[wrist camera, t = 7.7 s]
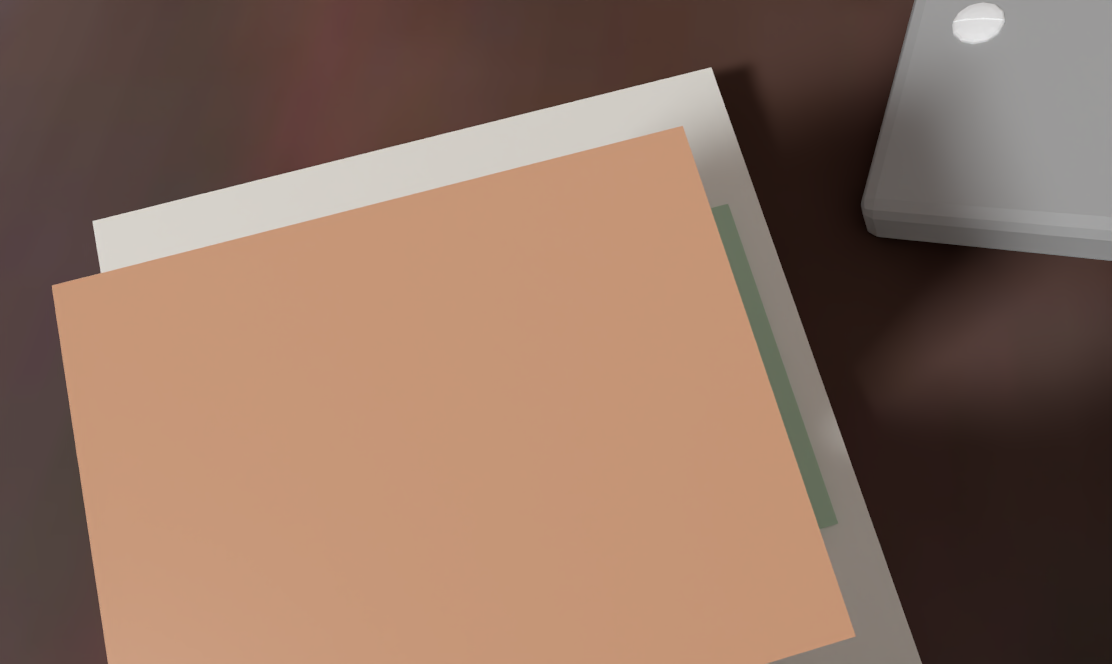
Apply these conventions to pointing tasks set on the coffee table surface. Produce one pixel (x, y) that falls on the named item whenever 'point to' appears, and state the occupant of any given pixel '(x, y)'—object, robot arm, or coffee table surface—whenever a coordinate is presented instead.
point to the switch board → (696, 104)
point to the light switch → (999, 129)
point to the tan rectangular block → (447, 435)
